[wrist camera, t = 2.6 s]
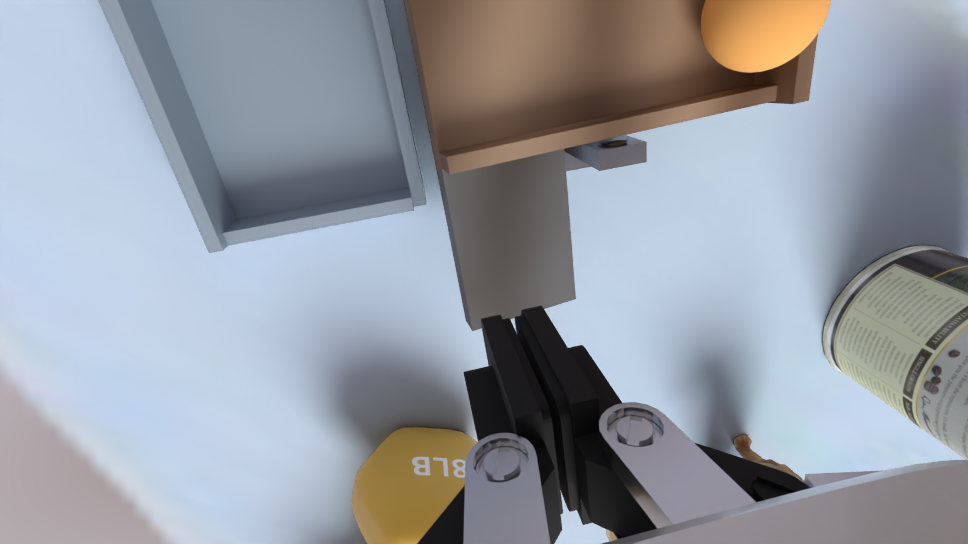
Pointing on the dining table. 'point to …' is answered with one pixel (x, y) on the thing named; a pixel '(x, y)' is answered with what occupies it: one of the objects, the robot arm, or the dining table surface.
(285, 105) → the tray
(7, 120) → the dining table surface
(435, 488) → the dumbbell
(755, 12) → the ball
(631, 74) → the brown tilting tray
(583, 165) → the lever stand
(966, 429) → the coffee can
